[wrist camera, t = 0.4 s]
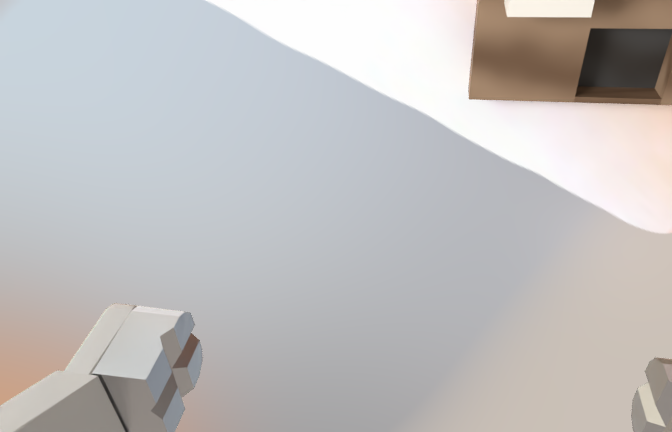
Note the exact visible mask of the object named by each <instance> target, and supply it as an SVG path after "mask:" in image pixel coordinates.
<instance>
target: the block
mask: <svg viewBox="0 0 672 432" xmlns="http://www.w3.org/2000/svg"><path fill="white" fill-rule="evenodd" d="M594 2H595V0H504V5H505V9H506V14H507V17H591V15H592V11H593V6H594Z"/></svg>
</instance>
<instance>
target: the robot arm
mask: <svg viewBox="0 0 672 432" xmlns="http://www.w3.org/2000/svg"><path fill="white" fill-rule="evenodd" d="M194 325H195V324H194V321H193V318H192V315H191V313H189V312H184V311H176V310H168V309H160V308H152V307H145V306H135V305H127V304H118V303H114V304H112V305H111V306H110V307H108V308H106V310H105V311H104V312H103V314H102V316H101V317H100V319H99V320H98V321H97V323H96V324H95V326H94V327H93V329H92V330H91V332H90V333H89V335H88V336H87V338H86V339H85V340H84V342H83V343H82V345H81V346H80V348H79V349H78V351H77V352H76V354H75V355H74V357H73V358H72V360H71V361H70V362H69V364H68V365H67V367H66V368H65V370H64V371H55V372H53V373H51V374H50V375H48V376H47V377H45V378H44V379H42V380H40V381H39V382H38V383H36V384H34V385H32V386H31V387H29V388H28V389H26V390H24V391H23V392H21V393H20V394H18V395H16V396H15V397H13V398H12V399H10V400H8V401H7V402H5V403H4V404H2V405H0V432H175V430H176V428H177V426H178V424H179V421H180V419H181V417H182V414H183V412H184V410H185V407H184V403H183V400H182V397H183V396H185V395H186V394H187V393H189V392H190V391H191V390H192V389H194V387H195V385H196V382H197V380H198V378H199V375H200V370H201V365H202V348H201V344H200V340H199V339H197V338H196V337H195V336H194V335H193V334H192V333H191V332H192V330H193V328H194ZM645 373H646V376H647V379H648V383H646V384H644V385H642V386H640V387H638V388H637V391H636V393H635V396H634V398H633V403H632V415H631V417H632V425H633V431H634V432H672V359H665V358H654V359H653V360H651V361H650V362H649V364H648V366H647V368H646V371H645Z"/></svg>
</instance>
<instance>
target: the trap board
mask: <svg viewBox="0 0 672 432" xmlns="http://www.w3.org/2000/svg"><path fill="white" fill-rule="evenodd" d="M469 99H480V100H515V101H550V102H585V103H621V104H656V105H672V0H595V2H594V6H593V11H592V15H591V17H507V14H506V9H505V5H504V0H477V8H476V18H475V28H474V38H473V48H472V58H471V68H470V78H469Z"/></svg>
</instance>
